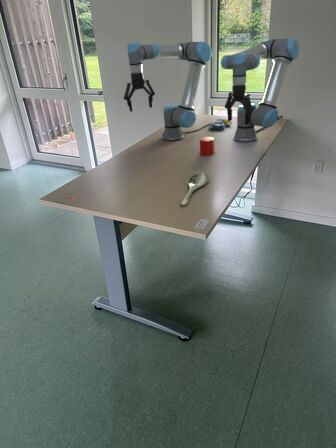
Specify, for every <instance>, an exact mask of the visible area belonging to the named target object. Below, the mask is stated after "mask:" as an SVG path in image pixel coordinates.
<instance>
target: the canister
mask: <svg viewBox="0 0 336 448" xmlns="http://www.w3.org/2000/svg"><path fill="white" fill-rule="evenodd" d="M199 154H200V156H203V157H210V156H214V155H215V138H214V137H212V136H203V137H201V138H199Z"/></svg>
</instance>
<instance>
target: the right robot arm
mask: <svg viewBox="0 0 336 448" xmlns="http://www.w3.org/2000/svg"><path fill="white" fill-rule="evenodd" d="M299 45H300V44H299V41H298V40H297V39H296V38H291V37H288V38H272V39H268V40H265V41H263V42H260V43H258V44H256V45H255V46H253V47H251V48H250V47H249V48H248V49H245V50H241V51H239V52H237V53H233V54H227V55H225V54H224V55H223V56H222V58H221V60H220V66H221V68H222V69H223V70H232V80H231V81H232V86H231V87H232V89H231V91H230V92H228V95H227V99H226V102H225V103H224V108H225V109H226V115H227V120H228V121H233V106H234V105H235V103H236V102H238V103H240V104H241V105H238V107H237V112H236V113H237V114H236V115H237V116H236V130H235V133H234V135H233V140H234V141H236V142H240V143H249V142H254V141H256V140H257V132H259V131H261V130H263V129H265V128H271V127H273V126H274V125H275V124H276V122H277V120H278V119H279V118H280V117H281V118H283V116H282V115H281V116H280V115H279V111H278V106H277V102H278V98H279V95H280V92H281V89H282V85H283V82H284V79H285V76H286V73H287V69H288V67H289V66H290V65H292V62H293V61H294V60H296V59H297V58H298V56H299V52H300V51H299V50H300V46H299ZM263 60H272V62H273V65H272V69H271V72H270V75H269V78H268V81H267V84H266V88H265V91H264V94H263V97H262V101H260V102H259V103H258V106H257V105H256V103H252V101H251V97H250V93H248V94H247V93H246V90H247V84H246V83H247V72H248V71H251V70H252V71H253V70H255V69H257V68H258V67H259V66H260V63H261V61H263ZM255 126H257V127H261V128H259V129H257V130H256V129H255Z"/></svg>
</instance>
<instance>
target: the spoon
mask: <svg viewBox="0 0 336 448" xmlns="http://www.w3.org/2000/svg"><path fill="white" fill-rule="evenodd" d="M209 180H210V176H209V174H208V173H206V172H203V171H200V172H199V171H198V172H195V173H194V174H192V175H191V176H189V178H188V180H187V185H188V187H189V188H188V189H189V190H188V192H187V193H186V195H185V196H184V197H183V198H182V200H181V202H180V206H183V207H185V206H187V205H188V203H189V201H190V199H191V197H192V195H193V193H194V191H196V190H197V189H199V188H201V187H203V186H205V185H206V184H207V183H208V182H209Z"/></svg>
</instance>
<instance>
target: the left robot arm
mask: <svg viewBox="0 0 336 448" xmlns="http://www.w3.org/2000/svg"><path fill="white" fill-rule="evenodd" d="M126 48H127V56H128V64H129V73H130V80H131V82H126V88H125V91H124V94H123V95H124V96H123V100H124V101H126V105H127V107H128V108H129V112H131V113H132V112H133V106H132V105H133V104H132V100H131V99H132V97H133V95H134V93H135V91H136V90H143V91H144V92H145V93H146V94H147V95H148V97H147V98H148V107H149V108H150V109H152V108H153V101H154V99H153V97H154V96H155V95H156V93H155V90H154V89H153V88H152V87H153V86H152V85H151V84H150V80H149V79H147V78H146V79H145V78H144V72H143V71H144V68H143V61H146V60H154V59H176V60H177V61H178V60H179V61H180V60H181V61H186V62H187V63H188V66H189V67H188V72H187V75H186V76H187V77H186V80H185V85H184V89H183V94H182V97H181V100H180V101H181V102H180V103H179V104H172V105H166V106H165V107H163V113H162V114H163V121H164V130H163V133H162V134H161V135H162V139H163V140H164V141H167V142H176V141H180V140H182V139H184V137H185V136H184V134H188V133H189V134H190V133H194V132H197V131H200V130H201V129H204V128H205V127H206V128H207V127H208V126H210V124H211V123H212V122H211V123H208V124H205V125H204V126H201V127H200V128H198V129H195V130H191V131H183V129H182V128H184V129H189V128H191V127H192V126H193V125H194V124H195V123H196V120H197V115H196V113H195V109H196V108H195V107H194V105H195V101H196V97H197V92H198V87H199V84H200V80H201V75H202V71H203V69H204V68H205V67H206V66H207V63H208V62H209V61H210V60H211V58H212V55H213V51H212V47H211V45H210V44H209V43H208V42H206V41H203V40H201V41H187V42H181V43H180V42H179V43H176V44H155V43H154V44H140V42H130V43H128V44H127V47H126ZM145 85H146V86H147V87H146V86H145Z"/></svg>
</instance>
